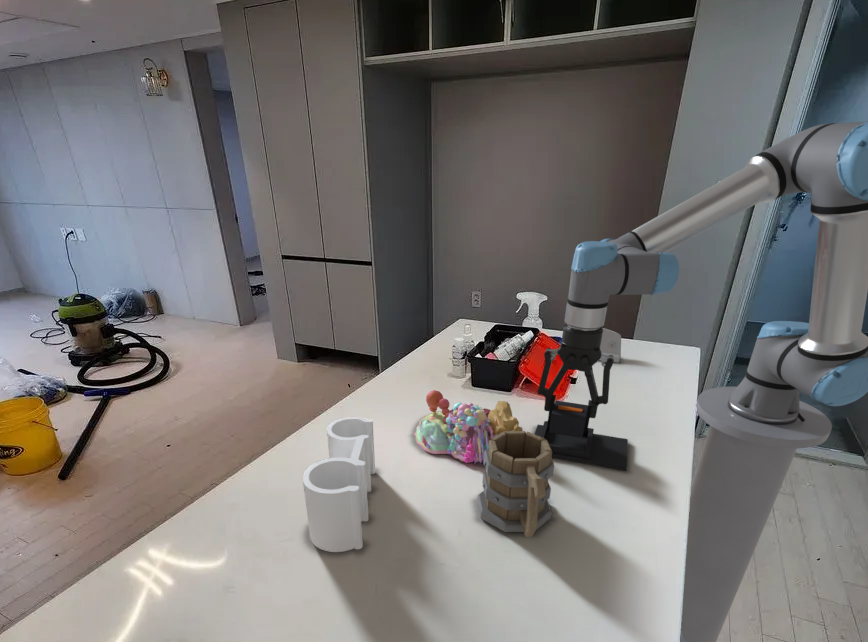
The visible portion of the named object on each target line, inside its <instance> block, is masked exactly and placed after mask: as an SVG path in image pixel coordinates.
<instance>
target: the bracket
mask: <svg viewBox="0 0 868 642" xmlns="http://www.w3.org/2000/svg"><path fill="white" fill-rule="evenodd" d="M326 436H327V439H326V441H327V448H328V458H324V459H321V460H318V461H316V462H314V463H312V464H311V465H309V466H308V467H307V468H306V469H304V471H303V474H302V485H303V486H302V487H303V493H304V502H305V509H306V517H307V524H308V531H309V540H310V542H311V543H312V544H313V545H314V546H315V547H316V548H317V549H320V550H322V551H325V552H330V553H343V552H348V551H351V550H361V549H363V547H364V543H363V528H362V522H368V521H369V506H368V504H369V503H368V493H369V492H371V491H372V477H371V475H374V474H375V473H376V461H375V460H376V459H375V457H376V456H375V441H374V439H375V437H374V436H375V435H374V420H373V419H372V418H363V417H359V416H346V417H341V418H338V419H335V420H332V421H331V422H330V423H328V425H327V426H326Z"/></svg>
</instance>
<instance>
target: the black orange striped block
mask: <svg viewBox="0 0 868 642" xmlns="http://www.w3.org/2000/svg"><path fill="white" fill-rule="evenodd" d="M587 409H588V404H583V403H575V402H568V401H562V400H555V405H554V408H553V411H552V414H551V421H550V428H549V432H550V433H556V434H562V435H567V436H573V437H579V438H583V432H584V427H585V421H586V416H587V415H586V414H587Z"/></svg>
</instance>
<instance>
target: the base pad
mask: <svg viewBox="0 0 868 642" xmlns="http://www.w3.org/2000/svg"><path fill="white" fill-rule="evenodd" d="M547 423H548V420H544V422H543V424H537V426H536V428H535V431H534V434H535V435H537V436H540V437H542V438H545V439H546V440H547V441H548V443H549V446H550V448H551V450H552V458H553V459H559V460H565V461H569V462H575V463H580V464H586V465H591V466H597V467H602V468H608V469H614V470H619V471H623V472H624V471H625V472H626V471H627V468H628V445H629V444H628V443H629V442H628V441H629V439H628V438H623V437H616V436H611V435H606V434H605V435H604V434H599V433H594V430H595V429H594V428H592V427H588V430H587V433H584V432H583V438H579V437H573V436H567V435H562V434H556V433H550V432H549V428H550V427H548V426H547Z"/></svg>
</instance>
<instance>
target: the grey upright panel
mask: <svg viewBox="0 0 868 642" xmlns="http://www.w3.org/2000/svg"><path fill="white" fill-rule="evenodd" d="M602 328H603V327H602ZM600 350H601V354H604V355H607V356H609V355H613V356H614V363H616V364H617V363H618V364H619V363H620V359H621V357H622V356H621V355H622V335H621V334H620V333H618V332H617V331H613V330H611V329H609V328H603V334H602V339H601V345H600ZM599 361H600V362H601V360H599Z"/></svg>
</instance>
